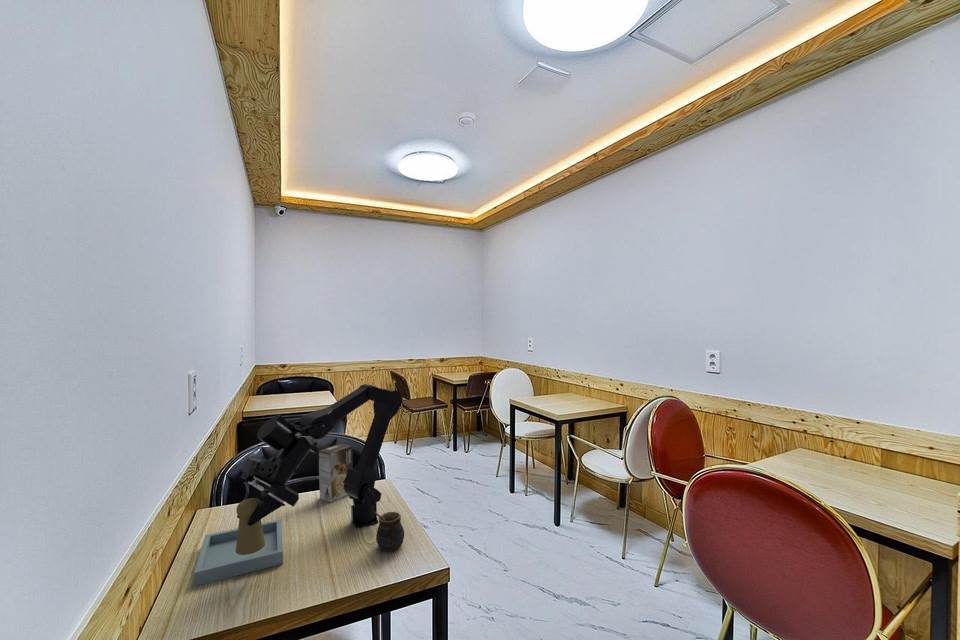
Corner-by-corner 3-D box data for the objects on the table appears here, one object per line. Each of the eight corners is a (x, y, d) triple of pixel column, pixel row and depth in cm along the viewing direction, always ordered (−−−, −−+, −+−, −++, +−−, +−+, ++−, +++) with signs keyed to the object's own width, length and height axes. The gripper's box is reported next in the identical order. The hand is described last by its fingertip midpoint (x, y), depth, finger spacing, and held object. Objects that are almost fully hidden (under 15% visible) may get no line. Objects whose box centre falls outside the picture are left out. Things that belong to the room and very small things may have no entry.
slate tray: (281, 529, 117) (281, 519, 117) (283, 563, 101) (282, 551, 101) (205, 546, 109) (205, 534, 109) (194, 586, 93) (194, 572, 93)
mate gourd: (408, 549, 107) (407, 511, 106) (379, 558, 103) (378, 519, 103) (399, 536, 113) (398, 500, 113) (372, 544, 109) (371, 507, 109)
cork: (246, 557, 92) (245, 508, 92) (229, 551, 95) (228, 503, 95) (271, 543, 98) (269, 497, 98) (254, 538, 100) (252, 493, 100)
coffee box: (341, 488, 145) (340, 442, 144) (354, 492, 141) (353, 445, 141) (318, 498, 137) (318, 450, 137) (331, 503, 133) (330, 453, 133)
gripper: (247, 436, 105) (199, 495, 96) (284, 450, 93) (232, 519, 85) (279, 458, 111) (236, 515, 103) (317, 474, 100) (272, 540, 91)
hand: (243, 521), depth 95 cm, fingers closed on cork, 5 cm apart
